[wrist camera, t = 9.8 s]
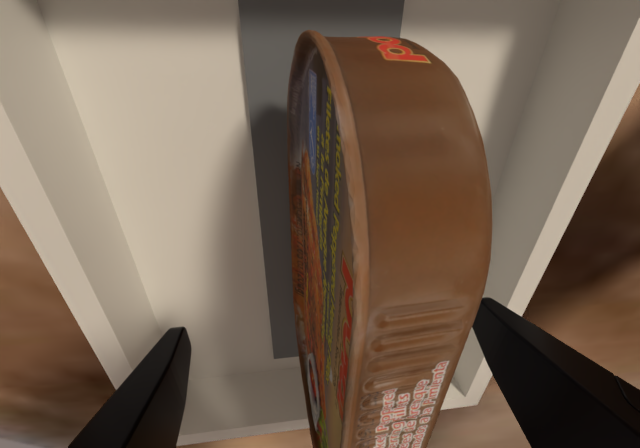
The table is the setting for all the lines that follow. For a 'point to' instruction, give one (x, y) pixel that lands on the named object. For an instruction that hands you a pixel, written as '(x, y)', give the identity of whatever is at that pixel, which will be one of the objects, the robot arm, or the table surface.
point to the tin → (382, 235)
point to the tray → (270, 166)
